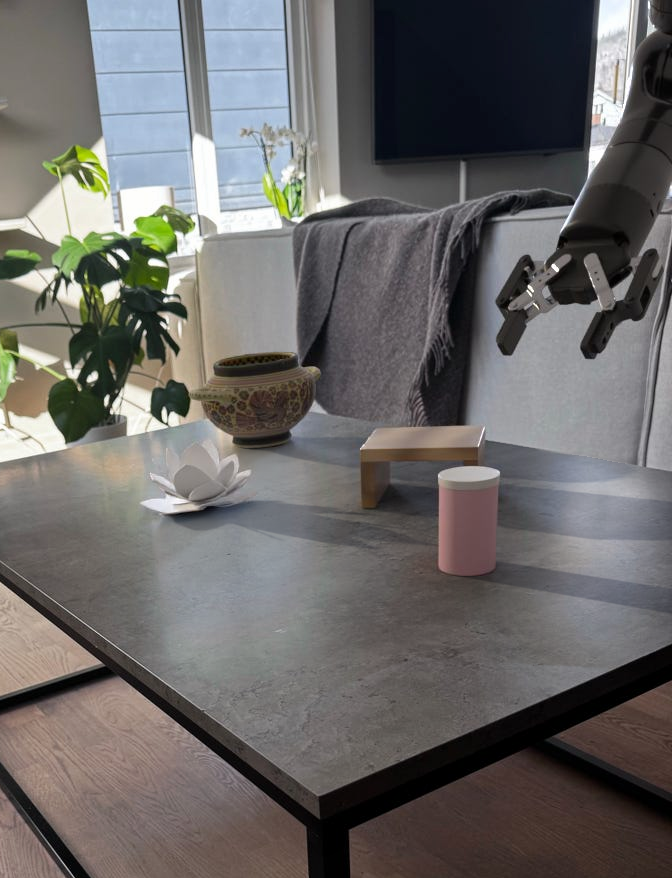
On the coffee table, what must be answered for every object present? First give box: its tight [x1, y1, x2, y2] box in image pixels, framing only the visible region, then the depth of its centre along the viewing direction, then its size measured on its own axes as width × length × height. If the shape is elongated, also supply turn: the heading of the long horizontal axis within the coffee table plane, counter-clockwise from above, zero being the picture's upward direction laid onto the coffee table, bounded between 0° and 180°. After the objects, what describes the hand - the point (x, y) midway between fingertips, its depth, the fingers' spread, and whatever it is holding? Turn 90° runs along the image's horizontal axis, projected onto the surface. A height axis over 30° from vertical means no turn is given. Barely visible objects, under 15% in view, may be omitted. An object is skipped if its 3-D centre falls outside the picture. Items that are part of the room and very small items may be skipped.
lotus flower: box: [140, 437, 260, 516], centre depth 114 cm, size 14×15×9 cm
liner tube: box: [437, 466, 501, 577], centre depth 85 cm, size 5×5×9 cm
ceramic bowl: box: [188, 351, 322, 449], centre depth 142 cm, size 24×18×15 cm
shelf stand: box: [359, 424, 487, 509], centre depth 108 cm, size 13×11×7 cm
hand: (543, 352), depth 86 cm, fingers open, 8 cm apart
